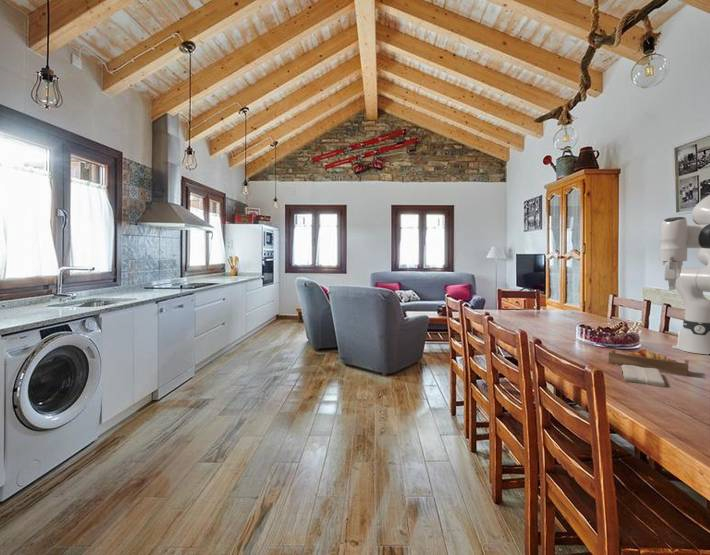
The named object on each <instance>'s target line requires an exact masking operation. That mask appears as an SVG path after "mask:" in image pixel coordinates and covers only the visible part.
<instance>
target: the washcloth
mask: <svg viewBox="0 0 710 555" xmlns="http://www.w3.org/2000/svg"><path fill="white" fill-rule="evenodd" d="M620 366H621V365H620ZM622 371H623V376H624V380H623V381H624V382H627V381H629V382H628V383H634V382H635V383H636V384H641V383H643V385H647V384H648V386H654V385H655V387H661V386H662V387H666V383H665V380H664V378H663V375H662V373H661V372H660V371H659V370H658V369H655V368H642V367H638V366H634V365H622V366H621V372H622ZM623 376H622V377H623ZM635 383H634V384H635Z"/></svg>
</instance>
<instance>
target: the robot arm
mask: <svg viewBox="0 0 710 555" xmlns="http://www.w3.org/2000/svg"><path fill="white" fill-rule="evenodd" d="M691 218H692V221H693V223H695V224H693V225H692V224H688V221H687V218H686V217H683V216H675V217H668V218H665V219H664V220H662V223H661V226H660V231H659V232H660V234H659V241H660V246H659V254H658V255H659V257H658V260H659V262H662V266H664V273H663V274H664V277H663V278H664V281H665V282H666V281H668V282H667V283H668V290H669V291H675V290H676V291H677V292H678V294H680V296H681V298H682V300H683V303H684V319H683V322H682V327H683V328H682V329H681V330H679V331H678V333H677V343H675V344H673V345H672V346H671V348H672V349H677V350H679V351H684V352H688V353H693V354H699V355H709V354H710V300H709V299H708V298H707V297H706V296H705V295H704V293H706V292H707V293H710V194H708V195H707V196H705V197H704V198H702V199H701V200H700V201H699V202H698V203H697V204H696V205H695V206H693V208H692V211H691ZM688 249H699V250H698V252H697V259H698V261H699V262H700V263H701V264H703V265H704V266H705V267H690V266H689V267H688V266H687V267H683V265H684V263H683V262H687V261H688Z"/></svg>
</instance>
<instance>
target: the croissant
mask: <svg viewBox="0 0 710 555" xmlns="http://www.w3.org/2000/svg"><path fill="white" fill-rule="evenodd" d="M625 354H626V355H632V356H639V357H646V358H653V359H659V360H666V361H673V362H678V360H676V359H672V358H670V357H667V356H666V355H665V354H660V353H659V354H658V353H657V354H656V353H654V351H652V350H648V349H640V350H639V351H638V352H637V351H636V352H635V351H632V352H631V353H629V354H628V353H625Z"/></svg>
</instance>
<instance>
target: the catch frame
mask: <svg viewBox="0 0 710 555" xmlns="http://www.w3.org/2000/svg"><path fill="white" fill-rule="evenodd" d="M626 354H627V353H619V352H618V353H617V352H616V349H614V348H613V349H611V350H610V351H609V352H608V364H609V363H612V364H611V365H615V364H618V365H617V366H621V365H634V366H638V367H642V368H655V369H658V370H659V371H660V373H663V372H665V374H671V375H675V374H676V375H677V376H681V375H682V376H683V377H688V374H689V364H690V360H688V359H685V360H684V362H679V361H677V362H673V361H666V360H659V359H653V358H646V357H639V356H632V355H626Z"/></svg>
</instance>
